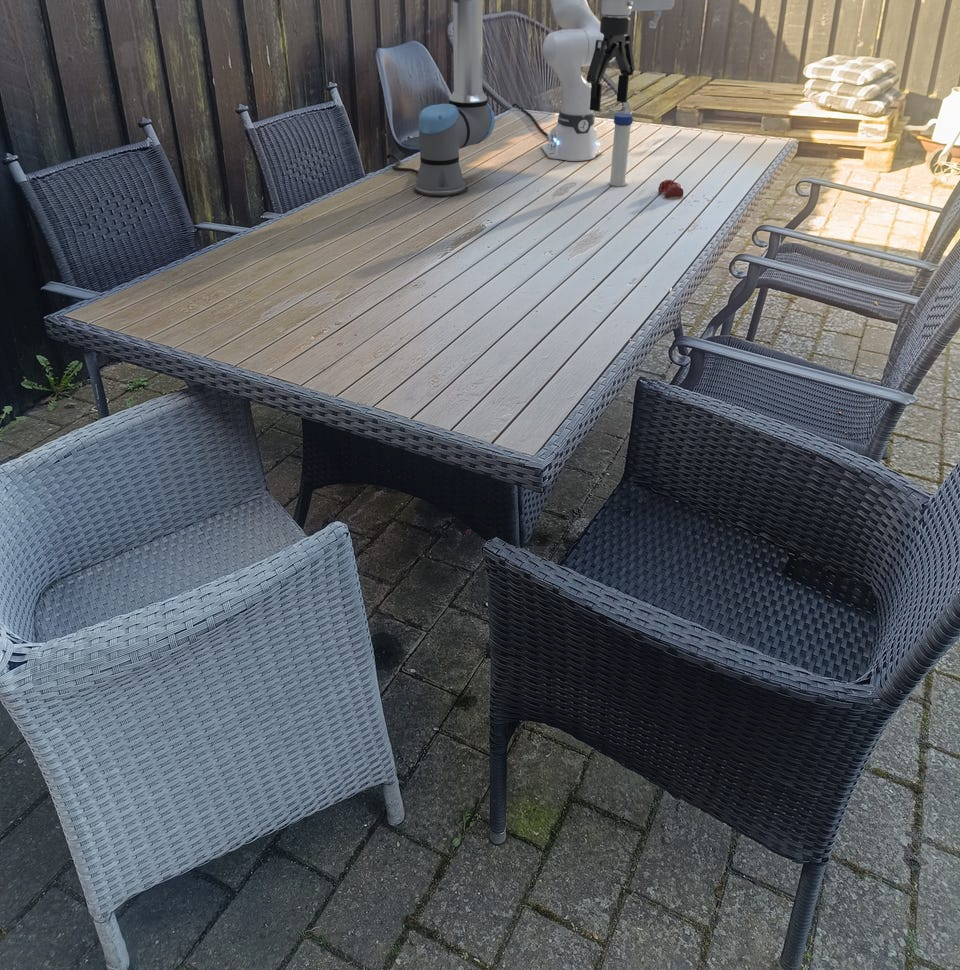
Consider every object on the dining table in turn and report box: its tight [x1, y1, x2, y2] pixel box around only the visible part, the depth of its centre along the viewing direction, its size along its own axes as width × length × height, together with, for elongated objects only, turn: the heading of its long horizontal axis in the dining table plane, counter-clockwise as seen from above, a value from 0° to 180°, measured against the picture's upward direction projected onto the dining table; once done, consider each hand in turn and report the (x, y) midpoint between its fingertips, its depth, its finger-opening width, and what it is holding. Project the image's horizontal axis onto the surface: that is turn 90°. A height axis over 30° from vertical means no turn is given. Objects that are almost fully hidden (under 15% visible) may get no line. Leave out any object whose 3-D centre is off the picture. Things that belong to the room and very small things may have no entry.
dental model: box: [657, 179, 684, 199], centre depth 253 cm, size 6×4×8 cm
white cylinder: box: [609, 124, 632, 187], centre depth 257 cm, size 5×5×20 cm
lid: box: [613, 112, 634, 126], centre depth 252 cm, size 6×6×2 cm
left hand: (608, 106), depth 226 cm, fingers open, 13 cm apart
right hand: (637, 28), depth 242 cm, fingers open, 8 cm apart
